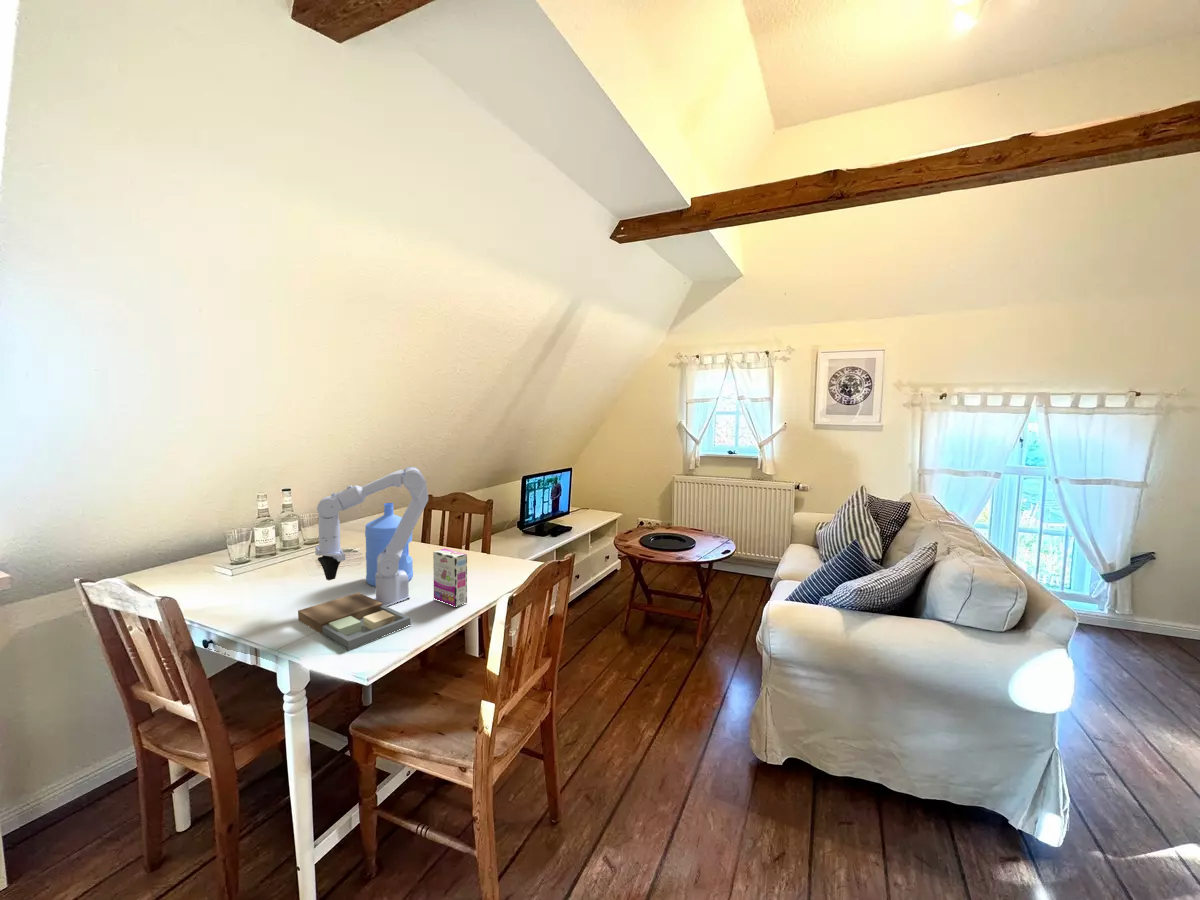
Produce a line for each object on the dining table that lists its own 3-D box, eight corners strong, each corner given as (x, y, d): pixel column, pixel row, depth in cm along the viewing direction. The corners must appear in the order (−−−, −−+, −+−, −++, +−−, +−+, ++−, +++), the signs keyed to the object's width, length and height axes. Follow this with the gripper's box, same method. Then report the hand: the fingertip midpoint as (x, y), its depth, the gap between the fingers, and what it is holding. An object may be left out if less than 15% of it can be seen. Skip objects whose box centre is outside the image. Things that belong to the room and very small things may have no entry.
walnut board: (358, 601, 158) (358, 592, 158) (382, 612, 150) (382, 603, 150) (298, 620, 144) (298, 610, 143) (321, 634, 135) (321, 623, 135)
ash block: (394, 615, 141) (394, 623, 141) (383, 610, 145) (383, 618, 145) (374, 622, 136) (374, 631, 137) (363, 616, 140) (363, 625, 140)
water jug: (380, 591, 167) (379, 510, 164) (357, 580, 176) (356, 503, 174) (421, 579, 179) (420, 503, 177) (398, 569, 189) (397, 497, 186)
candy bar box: (468, 603, 158) (468, 553, 157) (455, 608, 154) (455, 557, 153) (445, 595, 165) (445, 547, 163) (432, 600, 160) (432, 551, 159)
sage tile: (350, 624, 141) (350, 615, 140) (361, 630, 137) (361, 621, 137) (329, 631, 136) (328, 622, 136) (339, 638, 132) (339, 629, 132)
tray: (383, 613, 150) (383, 605, 149) (410, 625, 142) (410, 617, 141) (322, 634, 135) (322, 626, 135) (348, 650, 127) (348, 641, 127)
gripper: (304, 534, 151) (306, 577, 152) (327, 543, 143) (329, 588, 144) (328, 530, 157) (329, 571, 158) (351, 538, 148) (352, 581, 150)
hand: (330, 579), depth 151 cm, fingers closed
